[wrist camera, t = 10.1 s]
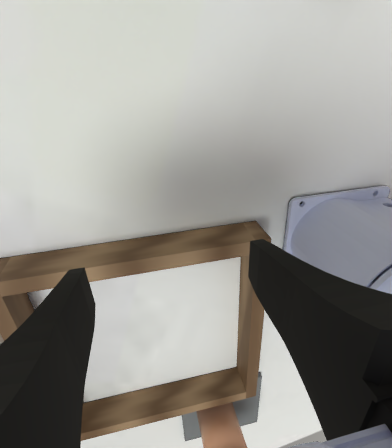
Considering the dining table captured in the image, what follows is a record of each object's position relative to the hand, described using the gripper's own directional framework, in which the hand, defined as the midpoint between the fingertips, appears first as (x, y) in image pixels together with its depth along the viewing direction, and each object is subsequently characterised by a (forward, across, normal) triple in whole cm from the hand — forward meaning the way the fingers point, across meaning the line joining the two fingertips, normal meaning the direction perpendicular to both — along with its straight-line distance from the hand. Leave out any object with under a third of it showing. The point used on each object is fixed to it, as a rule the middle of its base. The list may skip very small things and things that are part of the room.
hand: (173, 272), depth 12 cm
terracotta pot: (+9, -4, +29) cm, 31 cm away
